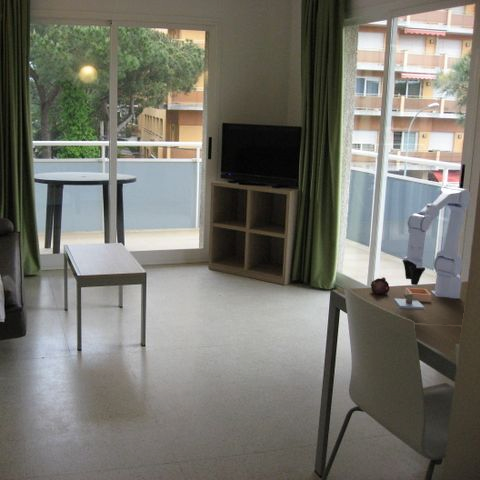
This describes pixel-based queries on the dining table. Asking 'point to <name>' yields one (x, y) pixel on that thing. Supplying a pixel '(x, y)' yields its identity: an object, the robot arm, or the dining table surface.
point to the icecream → (380, 286)
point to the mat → (405, 308)
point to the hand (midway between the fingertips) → (411, 281)
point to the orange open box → (419, 294)
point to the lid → (409, 302)
